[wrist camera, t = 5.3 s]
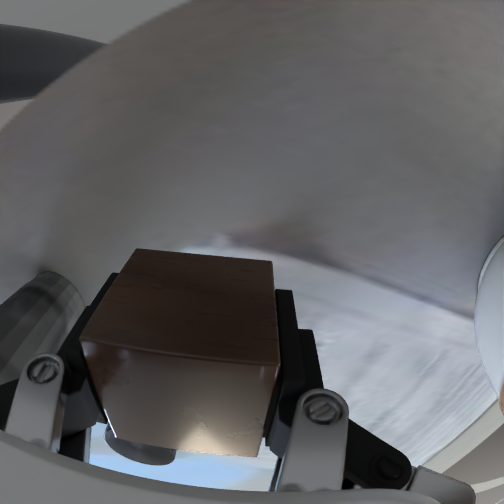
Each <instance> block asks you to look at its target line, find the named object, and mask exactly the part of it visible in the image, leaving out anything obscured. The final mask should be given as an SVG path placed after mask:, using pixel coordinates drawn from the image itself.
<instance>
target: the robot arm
mask: <svg viewBox="0 0 504 504" xmlns="http://www.w3.org/2000/svg"><path fill="white" fill-rule="evenodd" d="M118 274H119V273H112V274H111V275H110V277H109V278H108V279H107V281H106V282H105V284H104V285H103V287H102V288H101V290H100V291H99V293H98V294H97V296H96V297H95V299H94V300H93V302H92V303H91V305H89V306H87V307H86V308H85V309H84V311H83V312H82V314H81V315H80V317H79V318H78V320H77V321H76V323H75V325H74V326H73V328H72V329H71V331H70V332H69V334H68V336H67V337H66V339H65V340H64V342H63V344H62V345H61V347H60V349H59V350H58V352H57V354H54V353H48V352H47V353H40V354H37V355H34V356H33V357H31V358H30V359H29V360H28V361H27V362H26V363H25V365H24V367H23V369H22V372H21V375H20V378H18V379H15V380H12V381H10V382H7V383H4V384H2V385H0V504H475V500H476V496H475V492H474V490H473V489H472V487H471V486H470V485H468V484H466V483H465V482H462V481H459V480H456V479H453V478H451V477H448V476H445V475H443V474H440V473H438V472H435V471H432V470H430V469H427V468H425V467H422V466H420V465H419V466H418V467H417V468H416V467H414V466H411V463H410V461H409V460H408V458H407V457H406V456H405V455H404V454H403V453H402V452H400V451H399V450H397V449H395V448H394V447H392V446H391V445H389V444H387V443H386V442H384V441H383V440H381V439H379V438H378V437H376V436H375V435H373V434H372V433H370V432H369V431H367V430H365V429H364V428H362V427H361V426H359V425H358V424H356V423H355V422H353V421H352V420H350V419H349V409H348V405H347V403H346V401H345V400H344V399H343V398H342V397H341V396H340V395H339V394H337V393H336V392H334V391H331V390H328V389H324V386H323V381H322V375H321V370H320V365H319V360H318V354H317V349H316V344H315V339H314V334H313V331H312V330H309V329H298V325H297V319H296V312H295V306H294V299H293V293H292V290H281V289H275V299H276V311H277V324H278V337H279V350H280V363H281V365H280V369H279V373H278V377H277V381H276V386H275V390H274V394H273V398H272V402H271V406H270V410H269V414H268V418H267V422H266V426H265V430H264V433H263V437H265V446H270V451H272V452H273V453H274V454H275V455H277V456H278V457H277V461H276V465H275V469H274V472H273V476H272V480H271V483H270V487H269V490H268V492H261V491H239V490H226V489H215V488H205V487H197V486H189V485H182V484H176V483H170V482H164V481H158V480H153V479H148V478H143V477H138V476H134V475H129V474H125V473H121V472H117V471H113V470H109V469H106V468H102V467H98V466H95V465H92V464H89V458H90V441H91V426H94V425H95V424H96V422H99V423H103V424H107V423H108V418H107V416H106V413H105V411H104V409H103V406H102V404H101V401H100V398H99V396H98V393H97V391H96V388H95V385H94V383H93V380H92V377H91V374H90V371H89V368H88V365H87V362H86V359H85V356H84V353H83V350H82V347H81V344H80V340H79V337H80V335H81V333H82V332H83V330H84V328H85V327H86V325H87V323H88V322H89V320H90V318H91V317H92V315H93V314H94V312H95V310H96V309H97V307H98V305H99V304H100V302H101V301H102V299H103V298H104V296H105V294H106V293H107V291H108V290H109V288H110V287H111V285H112V284H113V282H114V281H115V279H116V277H117V276H118Z"/></svg>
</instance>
